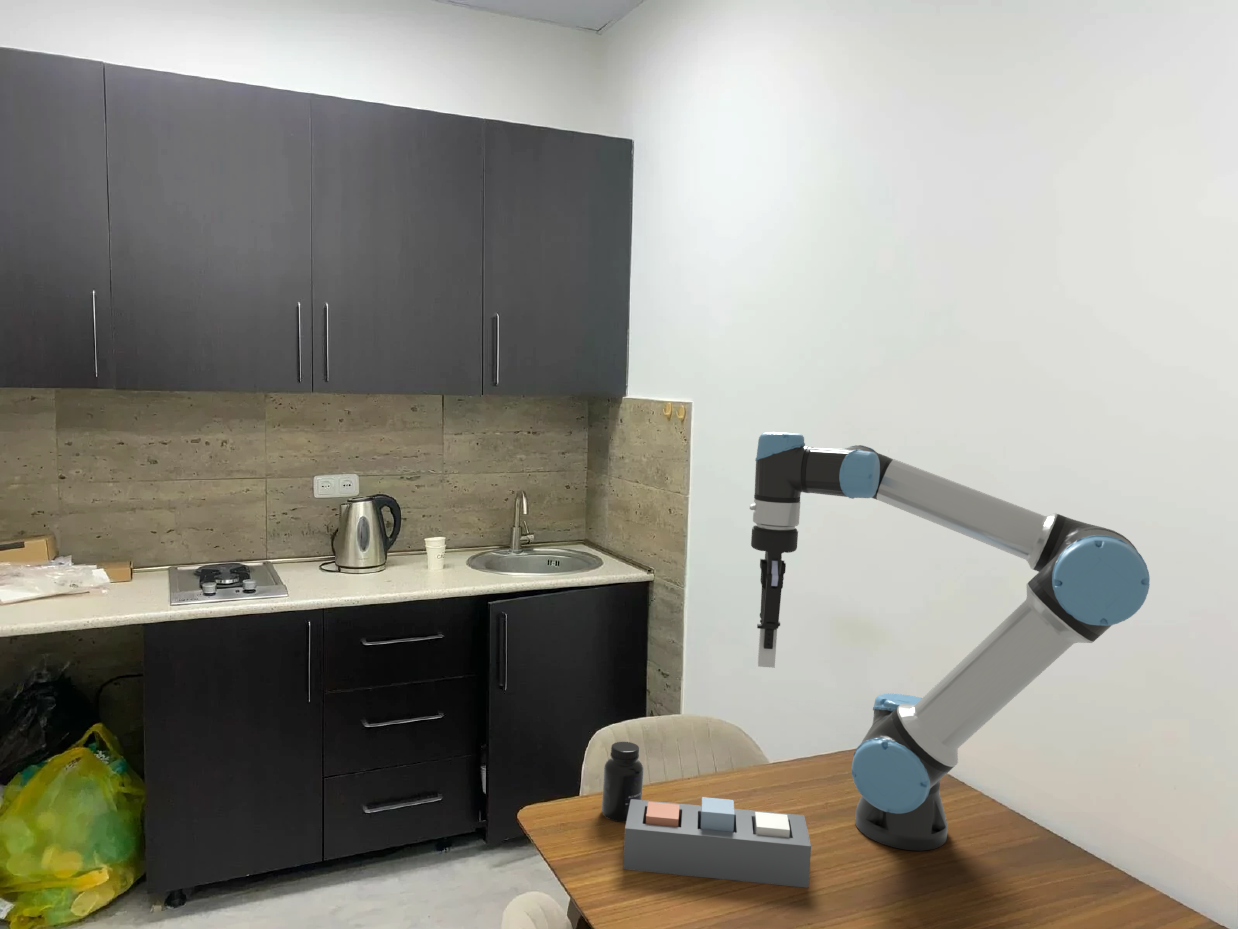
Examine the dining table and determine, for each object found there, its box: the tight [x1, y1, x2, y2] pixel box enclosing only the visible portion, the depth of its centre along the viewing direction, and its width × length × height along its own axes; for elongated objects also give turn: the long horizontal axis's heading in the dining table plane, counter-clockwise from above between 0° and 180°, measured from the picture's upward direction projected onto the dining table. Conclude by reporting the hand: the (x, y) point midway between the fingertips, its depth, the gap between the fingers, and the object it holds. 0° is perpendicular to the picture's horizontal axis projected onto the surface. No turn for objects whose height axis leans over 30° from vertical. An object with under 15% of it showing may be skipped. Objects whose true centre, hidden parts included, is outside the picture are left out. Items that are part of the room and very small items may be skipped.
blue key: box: [700, 796, 735, 832], centre depth 141 cm, size 5×5×5 cm
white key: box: [754, 812, 790, 838], centre depth 140 cm, size 5×5×5 cm
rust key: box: [646, 801, 679, 827], centre depth 142 cm, size 5×5×5 cm
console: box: [622, 799, 812, 889], centre depth 141 cm, size 28×10×6 cm, turn 84°
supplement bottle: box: [601, 741, 644, 823], centre depth 155 cm, size 7×7×12 cm
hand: (766, 665), depth 150 cm, fingers closed
